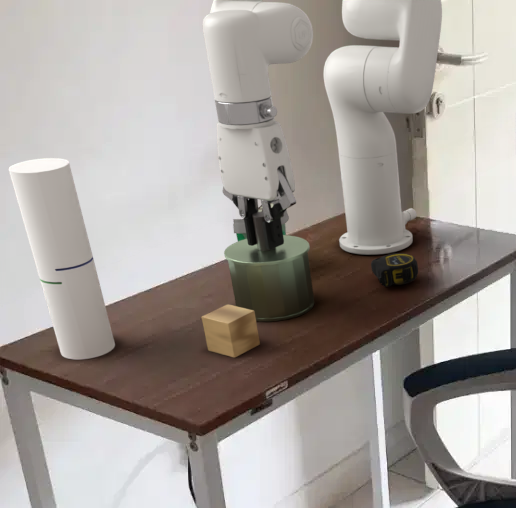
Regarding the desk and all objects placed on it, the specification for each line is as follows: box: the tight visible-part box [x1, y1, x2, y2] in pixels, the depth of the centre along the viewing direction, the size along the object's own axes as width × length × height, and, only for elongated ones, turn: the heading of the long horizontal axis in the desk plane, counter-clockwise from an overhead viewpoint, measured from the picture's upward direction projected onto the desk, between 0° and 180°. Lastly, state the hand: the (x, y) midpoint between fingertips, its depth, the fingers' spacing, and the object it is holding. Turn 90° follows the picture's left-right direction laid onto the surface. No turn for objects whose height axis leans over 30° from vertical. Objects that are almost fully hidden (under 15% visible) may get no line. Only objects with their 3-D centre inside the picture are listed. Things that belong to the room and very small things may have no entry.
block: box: [201, 303, 261, 359], centre depth 137 cm, size 5×5×5 cm
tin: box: [227, 252, 315, 323], centre depth 148 cm, size 11×11×8 cm
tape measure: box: [370, 252, 419, 288], centre depth 157 cm, size 7×7×4 cm
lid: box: [223, 212, 311, 266], centre depth 145 cm, size 12×12×6 cm
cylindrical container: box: [8, 157, 116, 360], centre depth 133 cm, size 7×7×25 cm
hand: (266, 243), depth 145 cm, fingers closed
